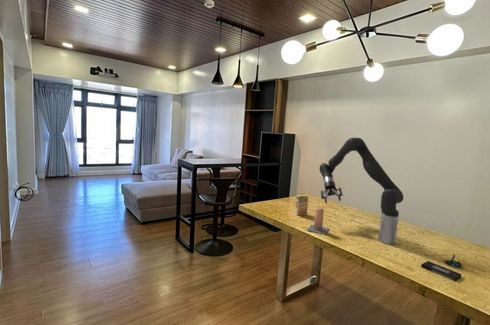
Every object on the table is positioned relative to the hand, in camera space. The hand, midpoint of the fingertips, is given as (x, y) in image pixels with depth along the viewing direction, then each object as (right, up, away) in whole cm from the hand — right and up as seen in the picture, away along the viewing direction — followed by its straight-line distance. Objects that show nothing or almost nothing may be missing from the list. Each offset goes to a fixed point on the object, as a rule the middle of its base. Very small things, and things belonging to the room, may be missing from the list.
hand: (333, 201), depth 182 cm
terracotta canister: (-11, -18, -4) cm, 22 cm away
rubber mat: (-11, -19, -4) cm, 22 cm away
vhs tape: (+36, -28, -51) cm, 69 cm away
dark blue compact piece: (+49, -27, -43) cm, 71 cm away
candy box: (-16, -15, +28) cm, 35 cm away
